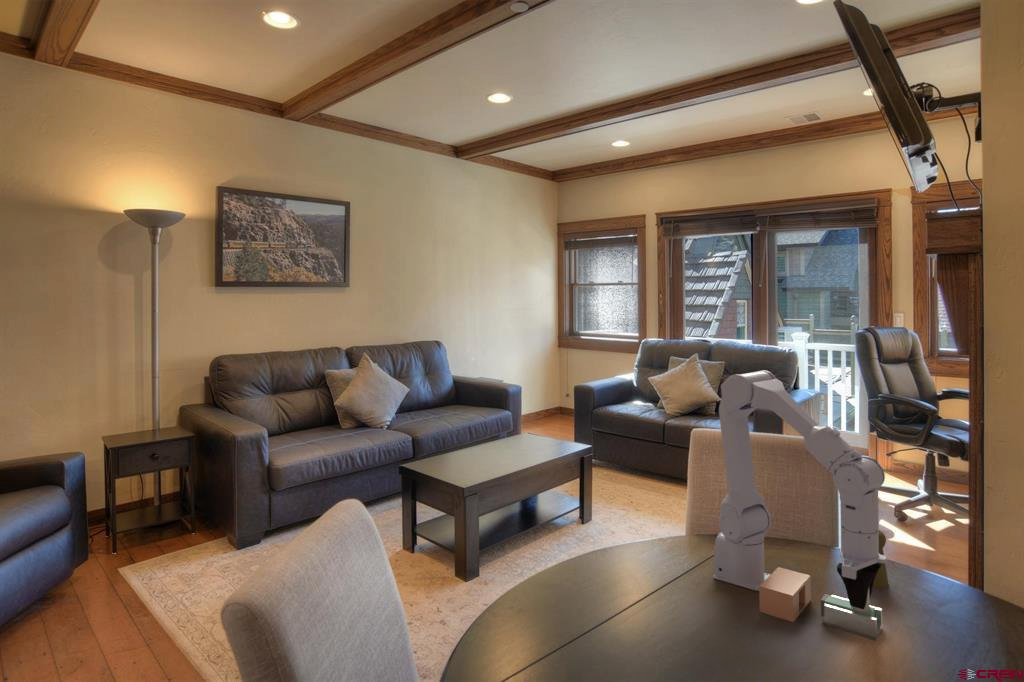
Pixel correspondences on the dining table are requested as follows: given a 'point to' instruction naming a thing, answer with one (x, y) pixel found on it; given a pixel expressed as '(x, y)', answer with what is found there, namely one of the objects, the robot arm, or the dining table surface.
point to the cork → (881, 576)
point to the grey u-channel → (853, 621)
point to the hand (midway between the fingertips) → (860, 603)
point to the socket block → (785, 594)
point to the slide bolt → (846, 605)
